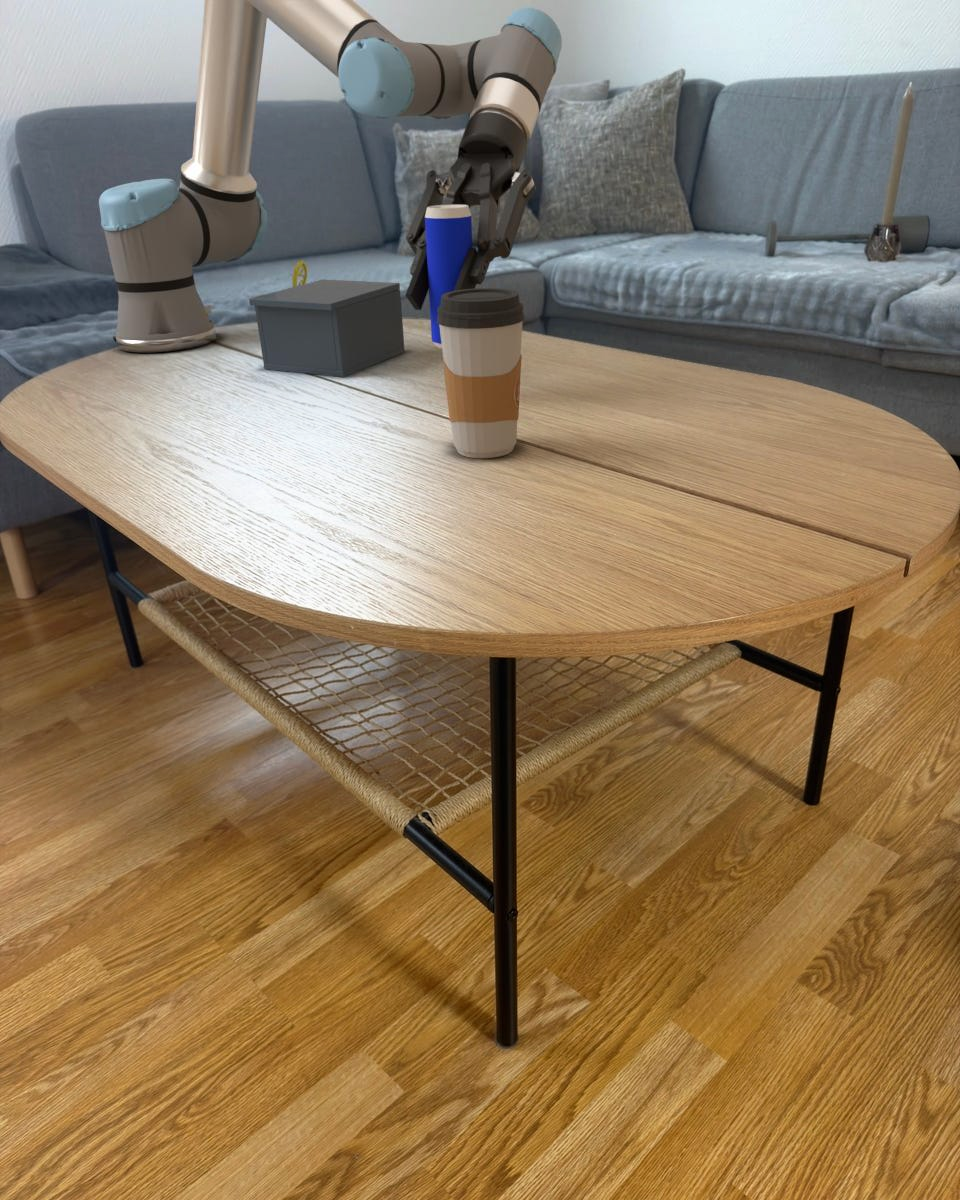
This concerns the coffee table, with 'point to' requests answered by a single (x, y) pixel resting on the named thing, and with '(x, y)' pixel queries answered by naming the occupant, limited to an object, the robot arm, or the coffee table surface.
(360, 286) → the lid
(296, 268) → the yellow spoked ring
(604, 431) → the coffee table surface
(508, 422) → the coffee cup
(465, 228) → the beverage can
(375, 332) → the chest
